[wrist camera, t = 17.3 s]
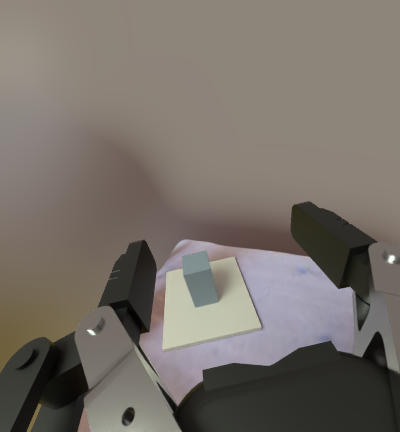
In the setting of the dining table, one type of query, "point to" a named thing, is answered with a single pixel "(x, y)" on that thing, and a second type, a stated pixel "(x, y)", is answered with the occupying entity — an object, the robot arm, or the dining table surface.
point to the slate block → (199, 279)
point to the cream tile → (208, 309)
